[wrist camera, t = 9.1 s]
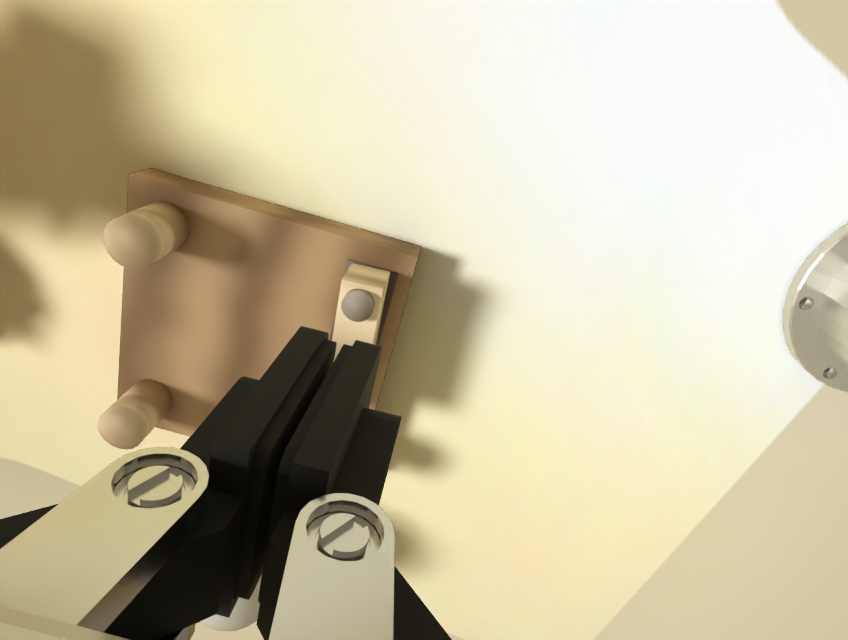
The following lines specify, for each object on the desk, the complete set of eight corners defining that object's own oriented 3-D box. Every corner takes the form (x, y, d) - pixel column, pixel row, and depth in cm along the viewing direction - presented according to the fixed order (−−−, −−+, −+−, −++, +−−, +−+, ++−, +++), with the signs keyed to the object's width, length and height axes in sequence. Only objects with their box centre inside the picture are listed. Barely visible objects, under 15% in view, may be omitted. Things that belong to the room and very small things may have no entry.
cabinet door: (352, 262, 34) (339, 282, 31) (390, 271, 34) (381, 292, 31) (330, 395, 38) (316, 425, 35) (364, 402, 38) (354, 433, 35)
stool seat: (421, 246, 36) (410, 279, 30) (361, 460, 44) (343, 520, 38) (150, 168, 36) (86, 186, 30) (135, 398, 43) (81, 449, 37)
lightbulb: (304, 536, 47) (259, 660, 37) (233, 522, 48) (169, 642, 37) (311, 479, 45) (264, 596, 35) (236, 465, 45) (168, 577, 35)
